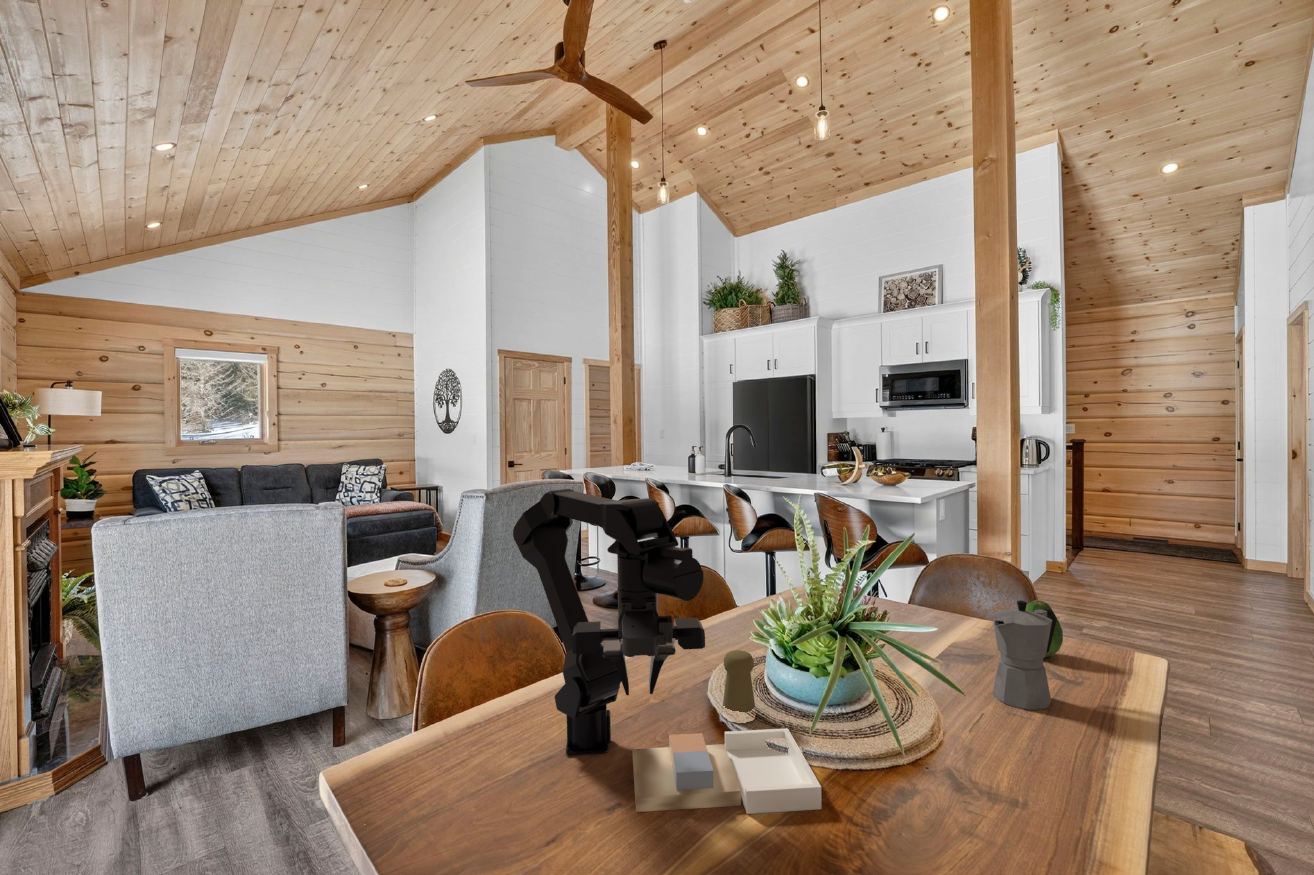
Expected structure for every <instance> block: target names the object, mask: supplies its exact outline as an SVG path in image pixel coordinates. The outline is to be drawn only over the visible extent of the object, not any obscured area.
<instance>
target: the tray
mask: <svg viewBox="0 0 1314 875" xmlns="http://www.w3.org/2000/svg"><path fill="white" fill-rule="evenodd" d="M770 738H785V740H786V742H787V743H788V745H789V749H788V755H786V754H783V753H780V752H777V751H774V750H772V749H768V748H769V747H768V745H767V743H766V742H765V741H766V740H767V739H770ZM724 745H725V748H726V751H727V753H728V756H729V759H730V762H731V765H732V768H733V771H734V773H735V776H736V779H737V782H738V785H739V788H740V790H741V802H742V804H743V807H744V810H745V813H746V814H747V815H749V814H751V815H752V814H765V813H766V814H767V813H785V812H786V813H787V812H799V811H814V810H822V785H821V783H820V782H819V781H818V779H817V777H816V775H815V773H814V772H813V770H812V768H811V766H810V764H809V763H808V761H807V759H806V757H805V756H804V754H803V753H802V751H801V749H800V748H799V746H798V744H797V742H796V740H795V739H794V737H793V735H792V733H791V731H790V730H789V728H787V727H786V728H770V729H753V730H752V729H749V730H748V729H747V730H731V731H724Z"/></svg>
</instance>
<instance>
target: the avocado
mask: <svg viewBox="0 0 1314 875" xmlns="http://www.w3.org/2000/svg"><path fill="white" fill-rule="evenodd" d="M1047 608H1048V609H1051V610H1052V611H1053V613H1054V614H1055V612H1054V610H1053V609H1052V607H1051V606H1050V604H1048V603H1047V602H1046V601H1043V600H1039V599H1034V600H1032V601H1031V602H1029V603H1027V606H1026V610H1025V611H1030V612H1034V610H1043V609H1047ZM1055 616H1056V618H1057V622H1056V626H1055V629H1054V634H1053V638H1052V642H1051V646H1050V650H1049V652H1048V653H1046V656H1045V657H1044V658H1047V657H1051V656H1053V655H1056V653H1058V652H1059V650H1060V649H1061V647H1062V645H1063V642H1064V639H1063V638H1064V636H1063V635H1064V634H1063V633H1064V632H1063V629H1062V625H1061V623H1060V621H1059V619H1058V617H1057V615H1056V614H1055Z"/></svg>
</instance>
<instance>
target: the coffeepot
mask: <svg viewBox="0 0 1314 875" xmlns="http://www.w3.org/2000/svg"><path fill="white" fill-rule="evenodd" d="M1027 605H1028V602H1027V601H1025V600H1022V599H1021V600H1017V601H1016V606H1017V609H998V610H996V611H995V612H994V613H992V619H993V625H994V626H993V627H994V633H995V640H996V645H997V650H998V651H999V652H1000V659H999V661H998V664H997V669H996V674H995V679H994V682H993V688H992V695H993V696H994V697H995V698H996V700H998V701H999V702H1001V703H1003V704H1005V705H1007V706H1010V707H1013V708H1017V709H1022V710H1026V711H1028V710H1029V711H1041V710H1042V711H1043V710H1046V709H1047V708H1048V707H1050V704H1051V702H1052V698H1051V692H1050V686H1049V681H1048V676H1047V672H1046V667H1045V666H1044V659H1045V658H1046V657H1045V656H1046V653H1048V652H1049V650H1050V646H1051V642H1052V638H1053V634H1054V629H1055V626H1056V622H1057V619H1058V617H1057V615H1056V614H1054V613H1055V612H1054V610H1053V609H1052V608H1051V609H1052V610H1053V611H1052V610H1051V609H1048V608H1047V609H1043V610H1034V612H1030V611H1025V610H1026V607H1027ZM1053 612H1054V613H1053ZM1055 615H1056V616H1055ZM1056 617H1057V618H1056Z"/></svg>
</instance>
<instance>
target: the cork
mask: <svg viewBox="0 0 1314 875" xmlns="http://www.w3.org/2000/svg"><path fill="white" fill-rule="evenodd" d="M754 662H755V661H754V657H753V655H752V654H751V653H750V652H748V651H746V650H742V649H741V650H740V649H738V650H737V649H736V650H731V651H728V652H726V654H725V655H724V657H723V668H724V670H725V671H726V675H725V684H724V692H723V693H724V694H723V700H722V701H723V702H722V707H723V706H725V708H727V709H730V710H732V711H739V712H748V711H751V710H752V709H753V708H754V707H755V708H756V702H755V695H754V689H753V681H752V675H751V673H752V671H753V670H754V665H755V663H754Z"/></svg>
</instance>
